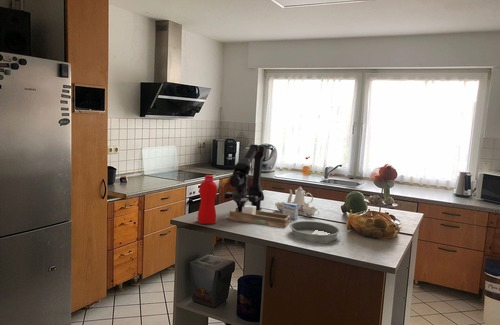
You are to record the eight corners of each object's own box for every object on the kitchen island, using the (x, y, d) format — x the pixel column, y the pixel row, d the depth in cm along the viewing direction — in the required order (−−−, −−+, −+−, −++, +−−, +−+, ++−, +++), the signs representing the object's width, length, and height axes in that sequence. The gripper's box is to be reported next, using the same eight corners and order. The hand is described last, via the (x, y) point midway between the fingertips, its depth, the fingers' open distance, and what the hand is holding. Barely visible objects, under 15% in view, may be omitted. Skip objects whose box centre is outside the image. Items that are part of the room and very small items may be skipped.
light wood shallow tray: (236, 213, 226) (237, 207, 225) (290, 221, 216) (291, 214, 216) (228, 219, 213) (228, 212, 212) (285, 227, 203) (285, 220, 202)
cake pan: (305, 226, 209) (306, 218, 209) (347, 237, 194) (348, 228, 194) (279, 235, 190) (279, 226, 190) (323, 248, 175) (324, 238, 175)
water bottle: (213, 219, 211) (216, 173, 208) (216, 224, 200) (219, 177, 197) (196, 219, 209) (199, 173, 206) (198, 224, 198) (200, 176, 195)
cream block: (245, 213, 220) (246, 204, 219) (255, 215, 218) (256, 206, 217) (241, 215, 214) (242, 206, 213) (252, 217, 212) (252, 208, 211)
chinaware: (271, 215, 235) (272, 188, 232) (278, 207, 250) (279, 182, 247) (317, 221, 226) (319, 194, 222) (322, 213, 241) (323, 187, 238)
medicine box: (282, 218, 223) (283, 203, 222) (285, 216, 227) (286, 202, 226) (295, 220, 219) (296, 205, 218) (297, 218, 223) (299, 204, 222)
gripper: (220, 184, 211) (219, 212, 213) (253, 189, 205) (251, 217, 207) (228, 182, 222) (226, 208, 223) (259, 186, 216) (257, 213, 217)
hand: (240, 212), depth 217 cm, fingers closed
